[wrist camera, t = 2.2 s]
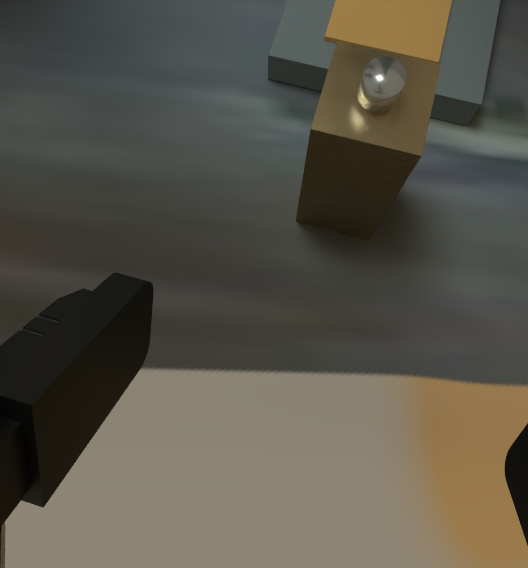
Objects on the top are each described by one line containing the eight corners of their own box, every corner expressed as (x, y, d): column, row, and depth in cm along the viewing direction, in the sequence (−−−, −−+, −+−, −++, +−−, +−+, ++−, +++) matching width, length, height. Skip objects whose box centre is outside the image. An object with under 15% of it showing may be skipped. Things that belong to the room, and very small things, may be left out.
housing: (295, 221, 26) (314, 109, 16) (314, 157, 27) (341, 16, 17) (368, 240, 25) (433, 137, 15) (383, 175, 26) (453, 40, 17)
